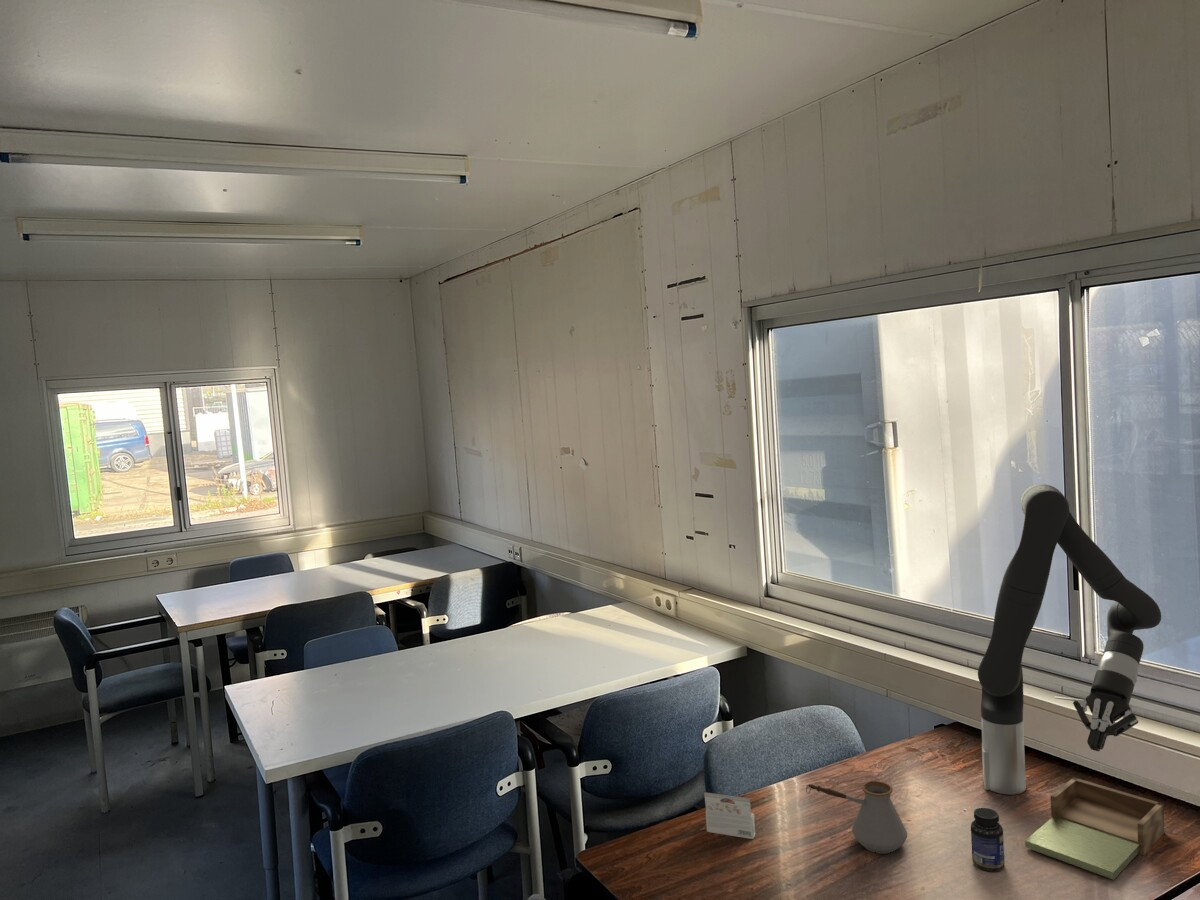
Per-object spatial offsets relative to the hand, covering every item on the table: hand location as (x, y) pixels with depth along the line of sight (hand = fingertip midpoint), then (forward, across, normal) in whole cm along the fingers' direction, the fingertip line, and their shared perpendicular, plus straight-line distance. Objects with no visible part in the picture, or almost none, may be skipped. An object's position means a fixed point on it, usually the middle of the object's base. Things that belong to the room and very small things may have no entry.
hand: (1094, 748), depth 181 cm
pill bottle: (+32, -11, -3) cm, 34 cm away
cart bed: (+10, 0, +18) cm, 20 cm away
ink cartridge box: (+51, -58, -22) cm, 80 cm away
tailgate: (+13, 0, +12) cm, 18 cm away
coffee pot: (+40, -34, -12) cm, 54 cm away
